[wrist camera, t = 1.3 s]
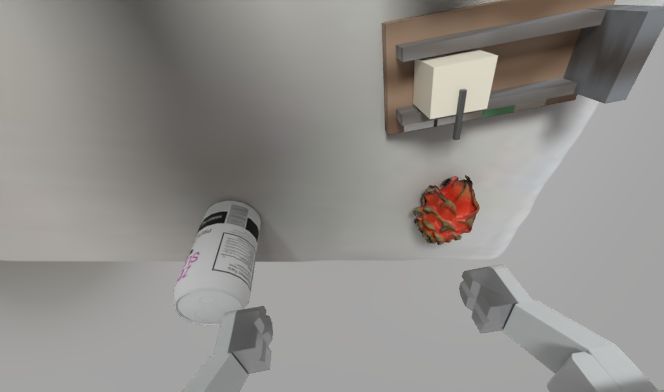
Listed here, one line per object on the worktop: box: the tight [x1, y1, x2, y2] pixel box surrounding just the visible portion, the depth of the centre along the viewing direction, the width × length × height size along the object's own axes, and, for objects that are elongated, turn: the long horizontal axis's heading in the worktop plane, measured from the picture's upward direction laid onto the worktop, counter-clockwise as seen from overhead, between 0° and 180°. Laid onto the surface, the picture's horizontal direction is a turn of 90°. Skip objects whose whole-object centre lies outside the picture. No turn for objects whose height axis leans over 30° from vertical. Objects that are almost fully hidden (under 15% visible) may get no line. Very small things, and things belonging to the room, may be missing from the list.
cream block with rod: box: [413, 49, 498, 140], centre depth 29 cm, size 8×6×6 cm
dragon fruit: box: [413, 175, 480, 245], centre depth 40 cm, size 8×8×12 cm
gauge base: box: [382, 0, 664, 135], centre depth 29 cm, size 12×24×8 cm, turn 99°
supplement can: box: [173, 201, 261, 326], centre depth 35 cm, size 8×8×15 cm
